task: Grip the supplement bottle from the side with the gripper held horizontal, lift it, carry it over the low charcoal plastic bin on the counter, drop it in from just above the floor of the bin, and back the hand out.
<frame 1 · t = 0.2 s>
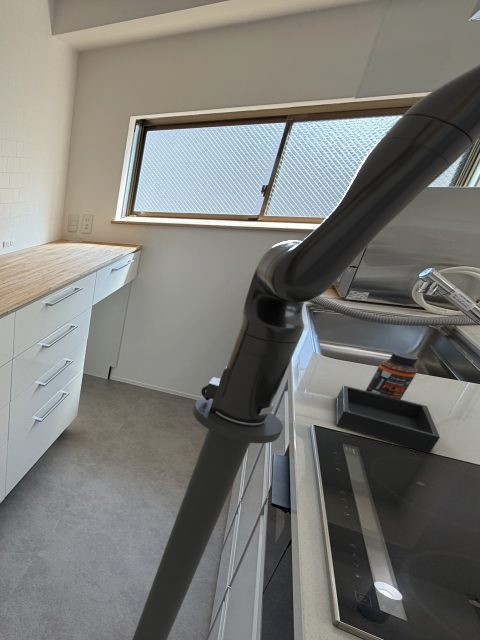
bin: (377, 423, 85), on the table
supplement bottle: (379, 401, 94), on the table
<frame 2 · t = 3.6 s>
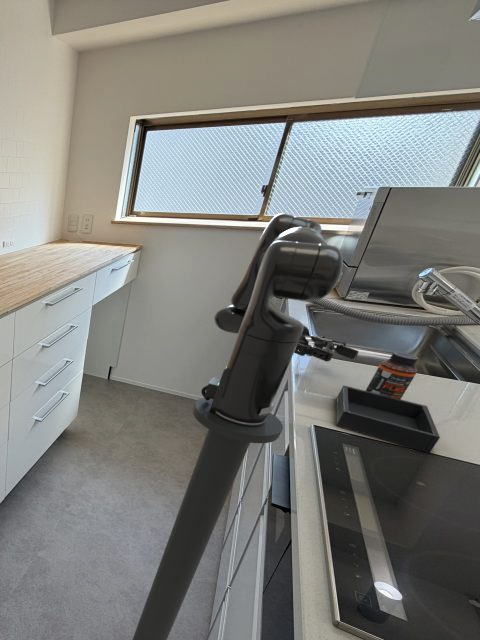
hand: (343, 356, 100), 7 cm above the table, tool horizontal, fingers open, 8 cm apart
nothing on the table moved.
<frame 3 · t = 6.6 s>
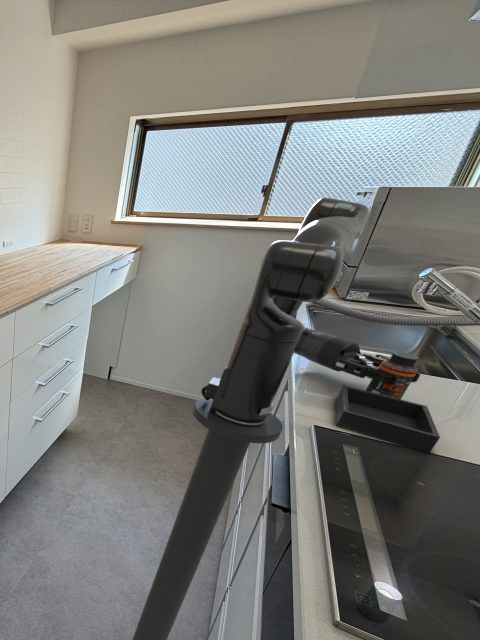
hand: (406, 379, 89), 7 cm above the table, tool horizontal, fingers closed on supplement bottle, 6 cm apart
supplement bottle: (379, 401, 94), on the table, touching gripper
when the fingers open (7 cm above the table, at t = 13.8 s): supplement bottle stays where it is, resting on bin.
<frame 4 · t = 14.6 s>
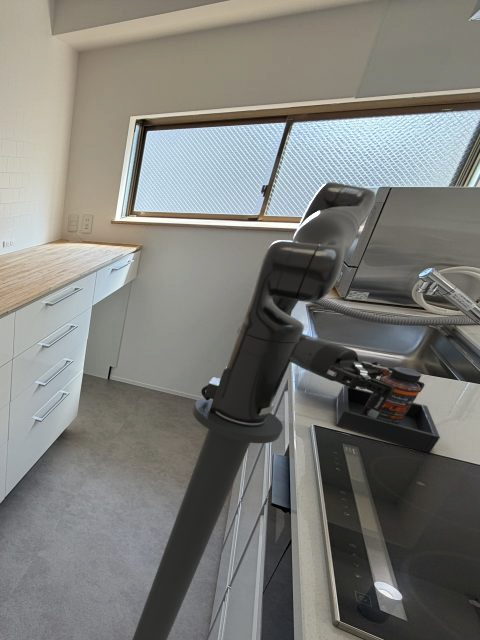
hand: (406, 390, 80), 8 cm above the table, tool horizontal, fingers open, 8 cm apart
supplement bottle: (378, 421, 85), resting on bin
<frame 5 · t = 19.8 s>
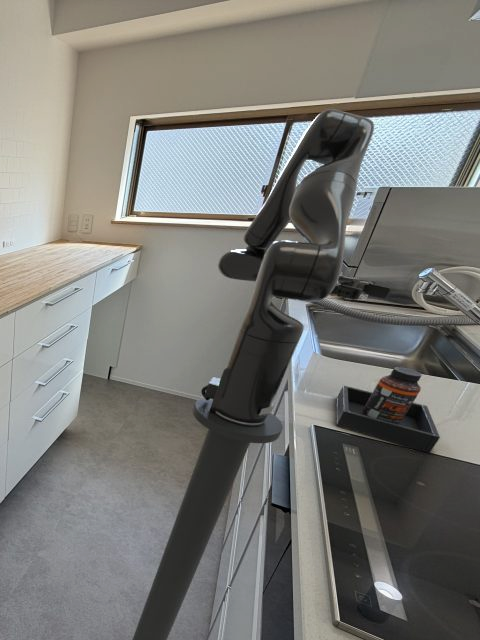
hand: (374, 294, 83), 24 cm above the table, tool horizontal, fingers open, 8 cm apart
nothing on the table moved.
at the end: supplement bottle inside the target area in the bin (0.1 cm from its centre), point 0.3 cm above the bin's base; supplement bottle tilted 0°; the gripper is holding nothing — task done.
